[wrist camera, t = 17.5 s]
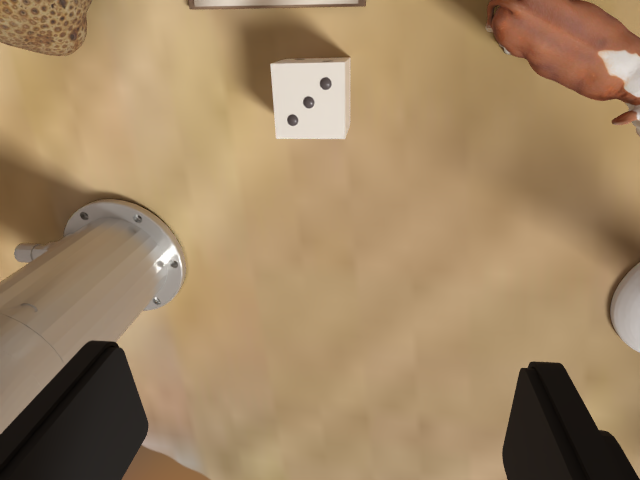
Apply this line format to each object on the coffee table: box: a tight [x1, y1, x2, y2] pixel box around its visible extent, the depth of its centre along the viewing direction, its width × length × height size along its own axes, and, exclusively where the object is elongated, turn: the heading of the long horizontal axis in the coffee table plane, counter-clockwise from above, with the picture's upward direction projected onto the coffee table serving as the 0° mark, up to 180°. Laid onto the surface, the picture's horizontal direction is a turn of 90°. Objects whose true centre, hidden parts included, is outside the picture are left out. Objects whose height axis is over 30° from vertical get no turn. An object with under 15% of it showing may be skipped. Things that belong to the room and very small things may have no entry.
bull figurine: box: [486, 0, 640, 136], centre depth 26 cm, size 4×13×8 cm, turn 59°
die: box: [270, 57, 350, 139], centre depth 31 cm, size 5×5×5 cm
